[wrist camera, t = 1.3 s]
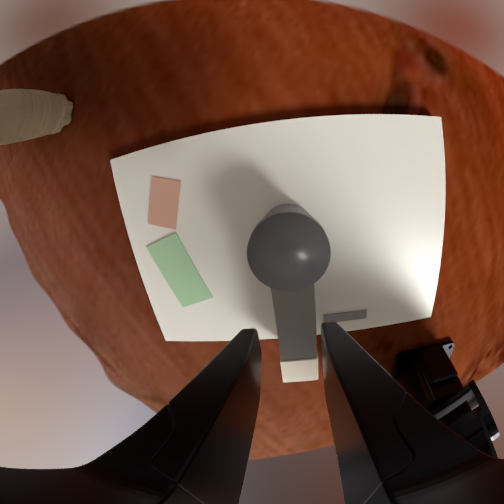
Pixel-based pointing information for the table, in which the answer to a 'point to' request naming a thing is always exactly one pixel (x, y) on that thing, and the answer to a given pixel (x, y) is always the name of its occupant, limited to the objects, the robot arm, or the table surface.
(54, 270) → the table surface
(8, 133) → the handle
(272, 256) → the grey round-headed bar
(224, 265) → the board
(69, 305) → the table surface
